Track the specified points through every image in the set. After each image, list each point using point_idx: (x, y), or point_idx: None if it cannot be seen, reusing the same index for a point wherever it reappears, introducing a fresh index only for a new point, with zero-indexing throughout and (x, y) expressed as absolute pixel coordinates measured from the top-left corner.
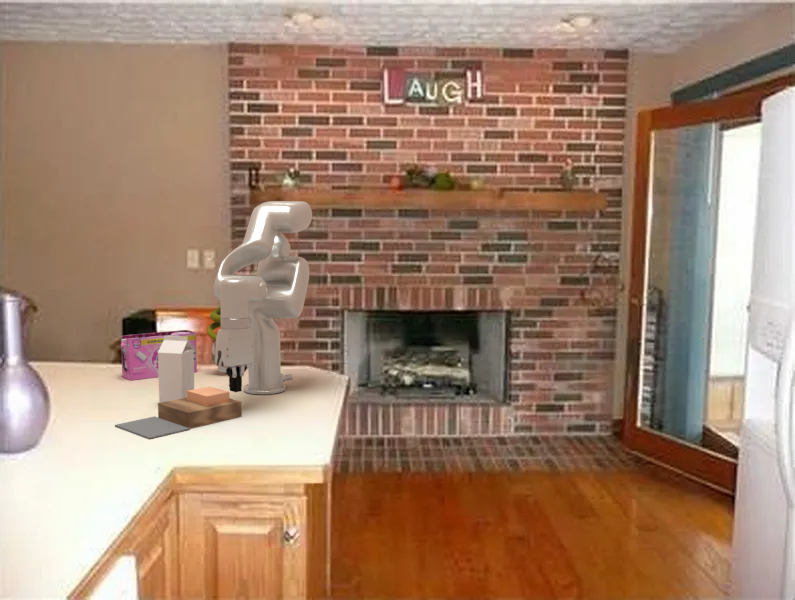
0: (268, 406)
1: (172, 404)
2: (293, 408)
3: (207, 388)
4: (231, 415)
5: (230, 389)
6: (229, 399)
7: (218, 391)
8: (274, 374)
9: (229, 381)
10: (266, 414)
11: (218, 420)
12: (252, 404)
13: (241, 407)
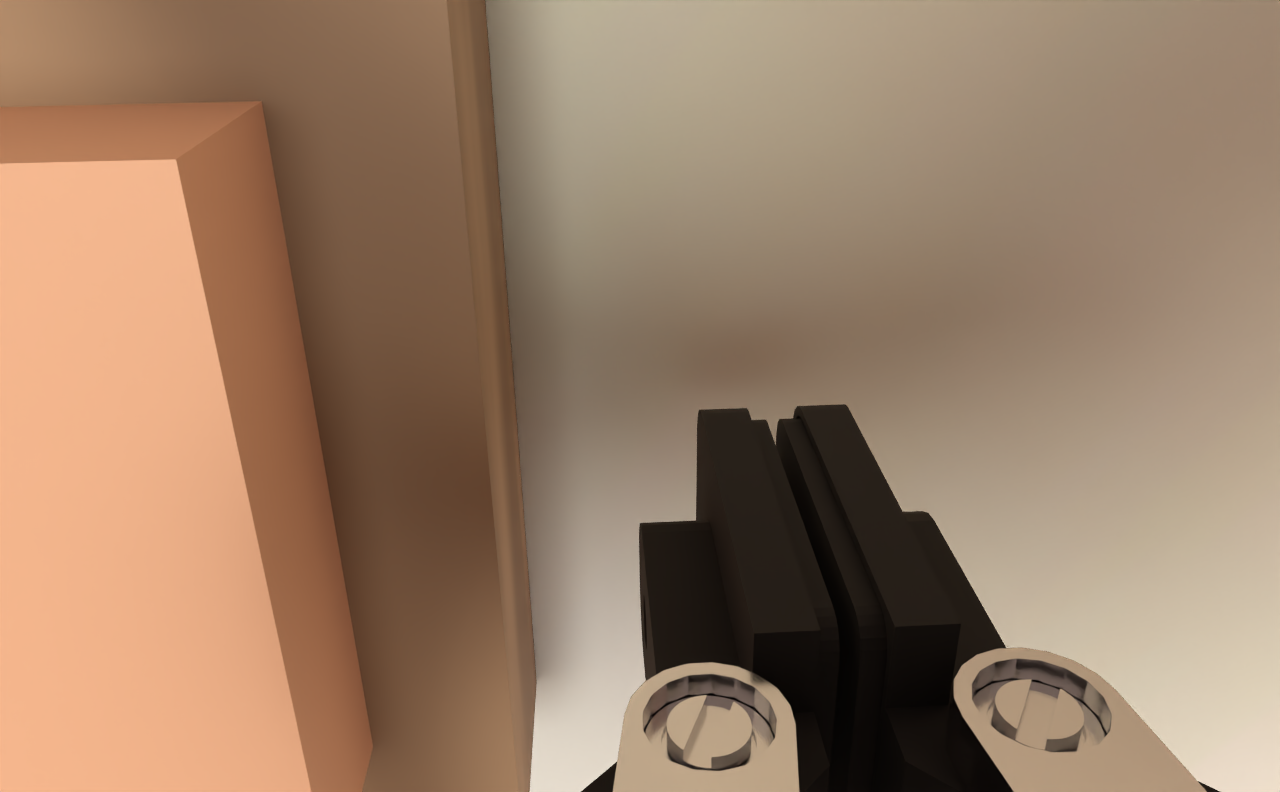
0: (1169, 519)
1: None
2: (1257, 781)
3: (22, 354)
4: None
5: (700, 443)
6: (437, 665)
7: (144, 767)
8: None
9: (651, 628)
10: None
11: None
12: (1133, 258)
13: (528, 778)
